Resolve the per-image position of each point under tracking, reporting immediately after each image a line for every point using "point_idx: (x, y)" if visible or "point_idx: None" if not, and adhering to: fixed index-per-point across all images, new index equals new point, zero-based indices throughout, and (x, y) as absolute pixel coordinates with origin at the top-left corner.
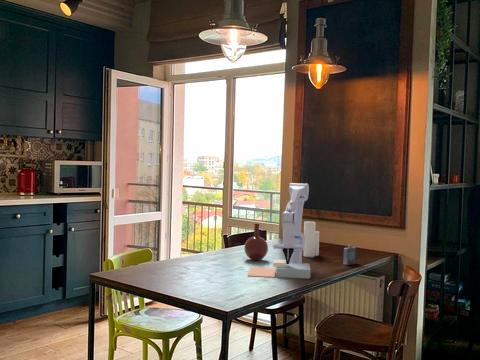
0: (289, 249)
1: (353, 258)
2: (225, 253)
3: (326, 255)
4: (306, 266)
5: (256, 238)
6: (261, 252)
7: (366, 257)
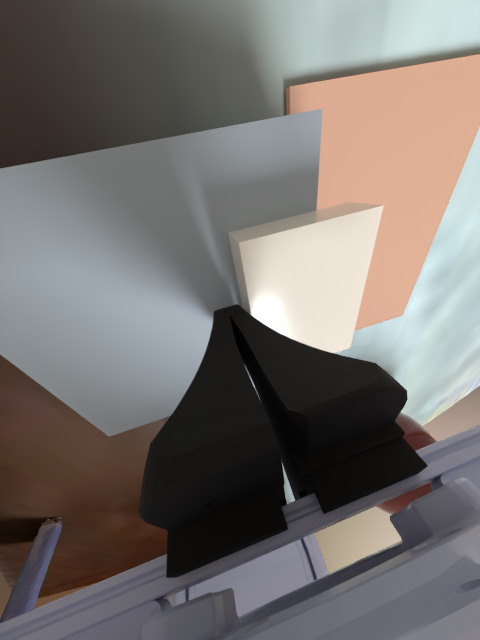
0: (267, 499)
1: (23, 567)
2: (414, 419)
3: None
4: (60, 365)
5: None
6: None
7: (61, 569)
